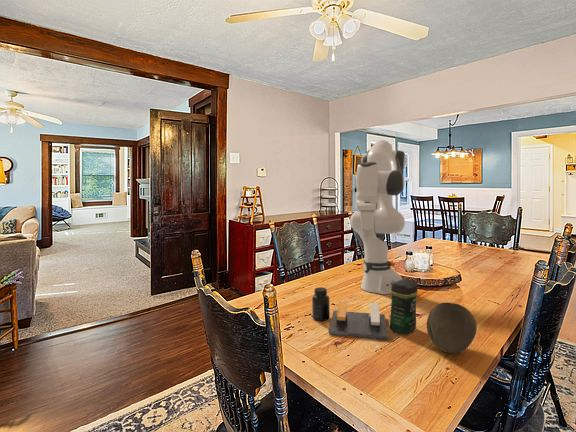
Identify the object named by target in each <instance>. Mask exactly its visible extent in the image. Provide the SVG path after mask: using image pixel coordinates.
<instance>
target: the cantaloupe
mask: <svg viewBox="0 0 576 432" xmlns="http://www.w3.org/2000/svg"><path fill="white" fill-rule="evenodd" d="M477 330H478V325H477V321H476V318H475V317H474V315H473V314H472V312H471V311H470V310H469V309H468V308H467V307H466V306H464V305H461V304H459V303H454V302H449V301H448V302H446V301H445V302H441V303H438V304H436V305H435V306H434V307H433V308H432V309H431V310H430V312H429V314H428V316H427V319H426V332H427V336H428V338H429V339H430V341H431V343H433V345H434V346H435V347H436V348H438V349H439V350H442V351H444V352H445V353H448V354H458V353H460V352H463V351H465V350H466V349H468V347H470V345H471V344H472V343H473V341H474V339H475V338H476V334H477Z"/></svg>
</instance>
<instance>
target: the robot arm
mask: <svg viewBox="0 0 576 432" xmlns="http://www.w3.org/2000/svg"><path fill="white" fill-rule="evenodd" d="M392 147H393V146H392V145H391V143H390V142H389V141H387V140H378V141H376V142H375V143H374V144H373V145H372V146H371V148H370V149H369V150H368V151H365V152H364V153H363V154H362V157H361V162H360V163H359V164H358V165H357V167H356V168H357V169H356V172H355V173H356V174H355V180H354V181H355V182H354V188H355V189H356V192H355V202H354V204H355V207H354V208H355V210H356V211H354V212H353V213H352V214H351V215H350V219H349V220H350V222H349V224H350V226H351V228H352V229H353V231H354V232H356V233H357V234H358V236H359V237H360V239H361V240H362V242H363V247H364V249H363V250H364V259H363V277H362V280H361V281H362V282H361V285H360V288H361V289H362V290H363V291H364V292H369V293H374V294H380V295H385V296H386V295H389V294H391V285H392V283H394V282H396V281H399V280H402V279H403V277H402V276H401V274H399V273H398V272H397V271H395V270H394V269H393V268H394V267H395V266H396V263H395V262H393V261H390V260H388V257H389V256H388V255H389V247H388V244H387V243H386V242H385V241H383V240H381V239H380V238H379V237H377V234H387V235H391V234H399V233H401V232H402V231H403V229H404V228H405V226H406V225H405V223H406V221H405V217H404V215H403V214H402V213H401V212H399V211H398V210H397V209H396V208H395V206H394V205H393V196H398V195H400V194H401V193H402V192H403V190H404V188H405V183H406V182H405V181H406V180H405V177H404V175H403V172H402V171H403V170H404V168H405V166H406V164H407V156H406V154H405V152H404V151H402V150H398V149H397V150H394V149H393V148H392ZM357 210H358V211H357Z"/></svg>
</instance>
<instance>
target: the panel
mask: <svg viewBox="0 0 576 432" xmlns="http://www.w3.org/2000/svg"><path fill="white" fill-rule="evenodd" d="M336 312H338V310H333V312H332V314H331V315H332V317H331V321H330V324H329V329H328V335H329V336H335V337H336V336H337V337H347V338H348V337H349V338H360V339H369V340H370V339H371V340H380V341H388V339H389V337H388V336H389V335H388V330H387V329H388V328H387V323H386V315H385V314H384V313H383V314H381V313H379V315H381V318H380V326H378V325H371V317H369V314H371V312H370V313H368V312H357V311H356V312H355V311H346V313H348V315H346V319H345V321H342V320H337V315H336Z"/></svg>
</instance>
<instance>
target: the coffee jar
mask: <svg viewBox="0 0 576 432" xmlns="http://www.w3.org/2000/svg"><path fill="white" fill-rule="evenodd" d="M390 294H391V295H390V296H391V304H390V318H389V329H390V330H391V331H392V332H394V333H395V334H397V335H404V336H406V335H407V336H408V335H410V334H412V333H414V332H415V331H416V329H417V297H418V283H417V281H415V280H414V279H409V278H406V277H405V278H402V280H399V281H396V282H394V283H392V285H391V293H390Z"/></svg>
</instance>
